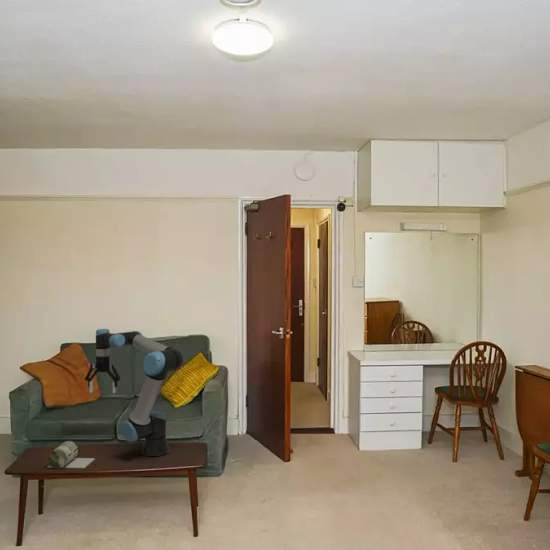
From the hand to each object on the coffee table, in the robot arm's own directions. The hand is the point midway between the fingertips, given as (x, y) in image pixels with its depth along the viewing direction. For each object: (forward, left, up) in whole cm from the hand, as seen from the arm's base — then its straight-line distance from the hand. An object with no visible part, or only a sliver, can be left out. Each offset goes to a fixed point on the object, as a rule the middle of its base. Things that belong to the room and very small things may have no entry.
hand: (102, 392), depth 303 cm
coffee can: (+11, +32, -27) cm, 44 cm away
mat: (+8, +23, -33) cm, 41 cm away
